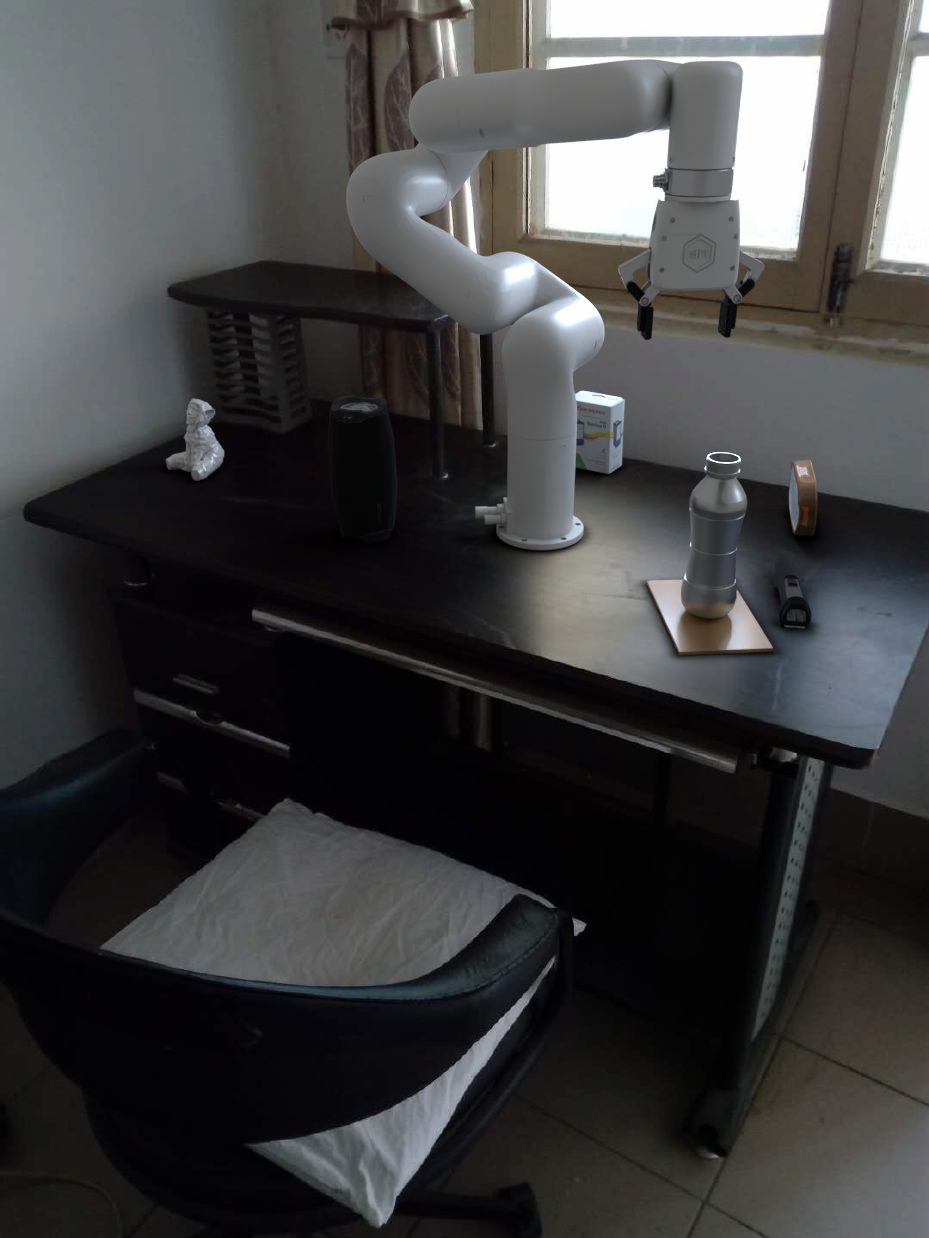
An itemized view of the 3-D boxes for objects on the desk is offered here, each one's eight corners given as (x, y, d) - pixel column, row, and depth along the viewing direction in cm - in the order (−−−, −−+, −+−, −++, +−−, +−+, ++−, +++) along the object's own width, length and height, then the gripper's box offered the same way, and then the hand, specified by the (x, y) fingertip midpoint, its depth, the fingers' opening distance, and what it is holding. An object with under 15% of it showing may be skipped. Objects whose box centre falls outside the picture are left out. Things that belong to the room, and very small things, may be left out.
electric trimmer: (797, 573, 134) (801, 551, 133) (811, 629, 121) (815, 605, 120) (768, 571, 135) (771, 549, 134) (778, 626, 122) (782, 603, 120)
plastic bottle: (731, 628, 120) (752, 470, 111) (674, 620, 122) (689, 464, 113) (737, 604, 126) (757, 451, 116) (682, 596, 128) (697, 445, 118)
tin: (814, 546, 141) (823, 489, 137) (790, 544, 142) (799, 488, 138) (804, 504, 154) (813, 451, 150) (783, 503, 154) (791, 450, 150)
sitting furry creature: (163, 469, 171) (151, 400, 165) (205, 455, 177) (195, 388, 171) (197, 482, 166) (186, 411, 160) (239, 467, 171) (230, 398, 165)
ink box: (622, 466, 169) (627, 397, 163) (608, 475, 165) (612, 405, 160) (577, 456, 173) (580, 389, 168) (562, 465, 170) (565, 397, 164)
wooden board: (678, 655, 116) (679, 651, 116) (646, 583, 132) (646, 580, 132) (773, 651, 117) (773, 648, 117) (729, 580, 132) (729, 577, 132)
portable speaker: (333, 524, 150) (322, 395, 141) (395, 519, 151) (389, 391, 142) (337, 548, 143) (325, 414, 133) (402, 542, 144) (396, 409, 135)
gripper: (629, 190, 111) (620, 346, 120) (784, 187, 112) (764, 342, 120) (617, 182, 118) (609, 331, 126) (763, 179, 119) (745, 327, 127)
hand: (684, 336), depth 123 cm, fingers open, 9 cm apart
